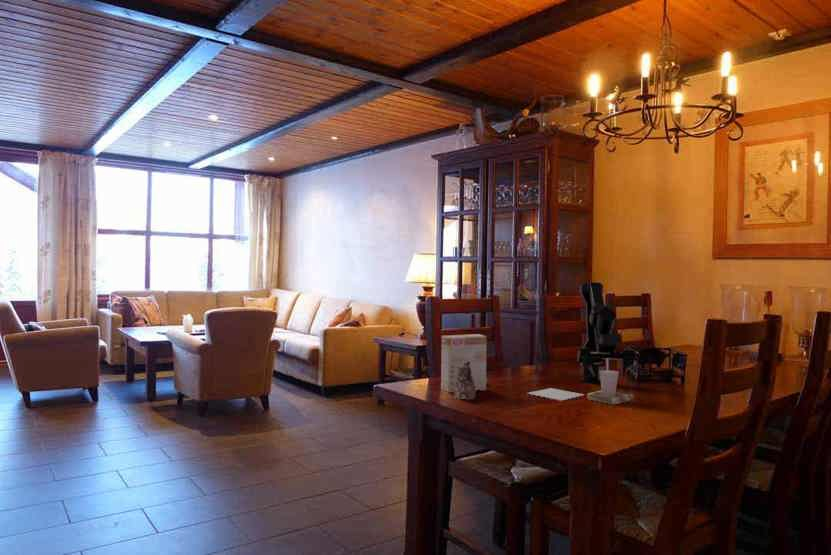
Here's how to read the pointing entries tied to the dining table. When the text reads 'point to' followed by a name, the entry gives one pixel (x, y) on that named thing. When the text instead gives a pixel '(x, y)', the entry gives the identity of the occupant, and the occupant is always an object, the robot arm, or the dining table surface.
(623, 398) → the holder
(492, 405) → the dining table surface
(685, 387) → the dining table surface
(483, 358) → the coffeecake box
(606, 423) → the dining table surface
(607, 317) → the robot arm
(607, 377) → the smoothie
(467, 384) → the figurine
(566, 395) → the mat
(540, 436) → the dining table surface
